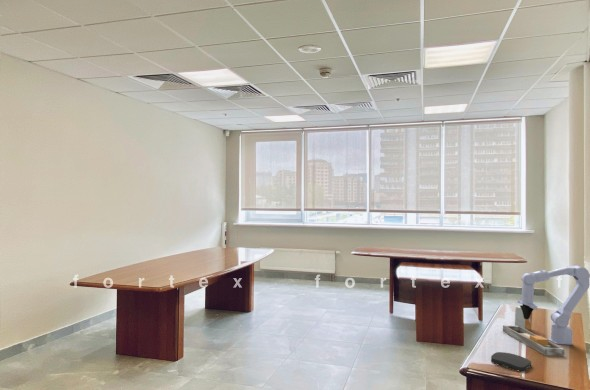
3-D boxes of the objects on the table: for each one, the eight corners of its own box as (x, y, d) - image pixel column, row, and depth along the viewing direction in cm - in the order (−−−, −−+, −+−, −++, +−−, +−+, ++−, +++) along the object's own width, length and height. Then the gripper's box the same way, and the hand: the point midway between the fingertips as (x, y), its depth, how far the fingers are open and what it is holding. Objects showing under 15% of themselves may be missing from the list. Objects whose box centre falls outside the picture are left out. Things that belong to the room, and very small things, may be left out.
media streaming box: (500, 355, 193) (500, 349, 193) (533, 365, 182) (533, 359, 182) (488, 362, 183) (488, 356, 183) (522, 374, 172) (523, 367, 172)
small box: (524, 331, 235) (526, 309, 235) (514, 328, 240) (515, 306, 240) (531, 329, 239) (532, 308, 240) (521, 326, 245) (522, 305, 245)
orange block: (540, 341, 211) (540, 335, 211) (547, 345, 205) (548, 339, 205) (529, 340, 211) (529, 335, 211) (536, 345, 205) (537, 339, 205)
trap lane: (519, 332, 232) (519, 326, 232) (563, 356, 196) (564, 349, 197) (502, 331, 232) (503, 325, 232) (544, 355, 196) (545, 348, 196)
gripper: (513, 291, 231) (511, 314, 231) (529, 297, 216) (527, 322, 216) (524, 292, 231) (523, 315, 231) (541, 298, 217) (540, 323, 216)
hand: (526, 318), depth 223 cm, fingers closed
